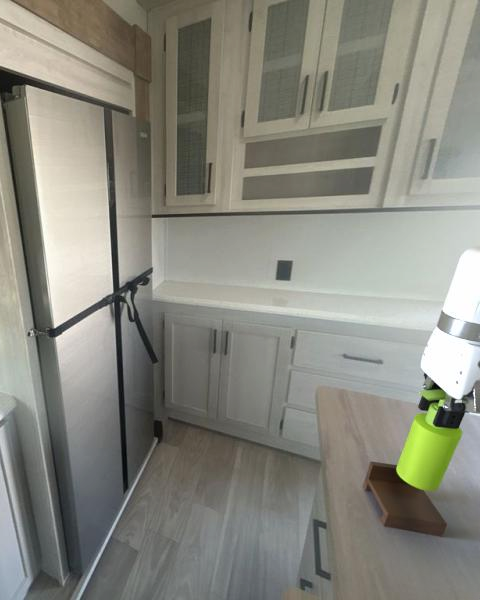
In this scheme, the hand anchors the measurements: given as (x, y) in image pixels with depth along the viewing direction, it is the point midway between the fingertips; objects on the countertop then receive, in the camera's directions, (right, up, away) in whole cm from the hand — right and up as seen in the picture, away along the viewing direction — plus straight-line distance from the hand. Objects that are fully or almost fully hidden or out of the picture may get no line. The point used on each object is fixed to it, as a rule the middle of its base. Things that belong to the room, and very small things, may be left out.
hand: (437, 417), depth 58 cm
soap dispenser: (+1, -14, +6) cm, 15 cm away
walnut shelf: (+3, -24, +10) cm, 26 cm away
